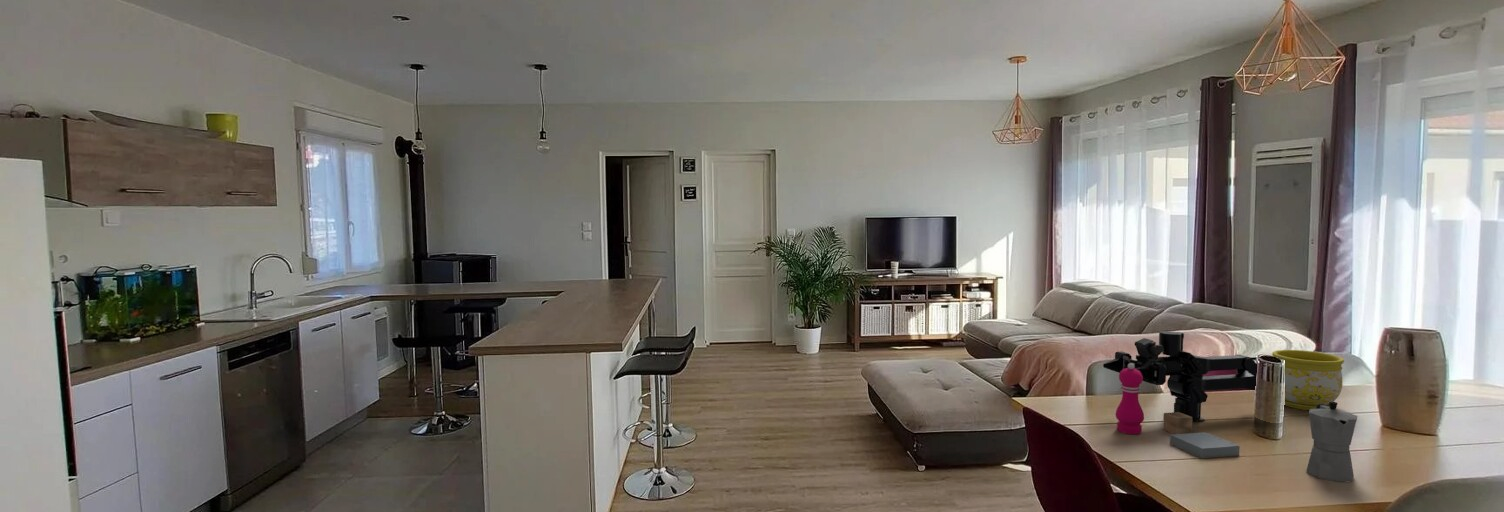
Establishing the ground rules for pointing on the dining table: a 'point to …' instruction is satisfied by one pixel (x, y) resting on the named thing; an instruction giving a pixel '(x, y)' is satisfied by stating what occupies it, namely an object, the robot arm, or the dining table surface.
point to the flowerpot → (1310, 378)
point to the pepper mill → (1130, 401)
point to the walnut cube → (1177, 423)
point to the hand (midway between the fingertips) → (1113, 369)
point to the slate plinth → (1204, 445)
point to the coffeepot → (1331, 443)
